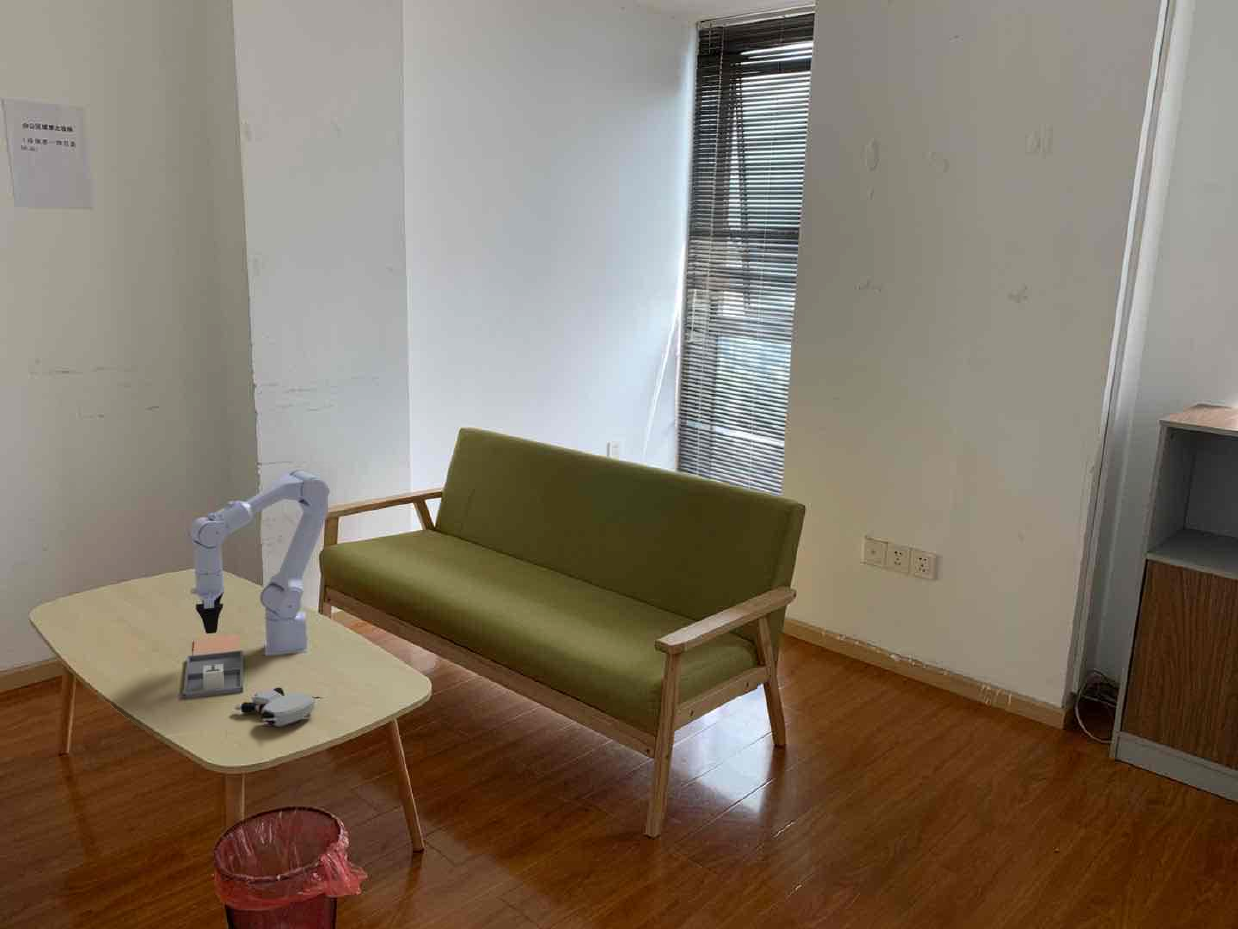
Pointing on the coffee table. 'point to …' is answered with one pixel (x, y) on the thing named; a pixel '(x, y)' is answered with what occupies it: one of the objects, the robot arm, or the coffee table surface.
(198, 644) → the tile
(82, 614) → the coffee table surface
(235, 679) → the sorting tray
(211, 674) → the letter cube
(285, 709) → the robot toy
